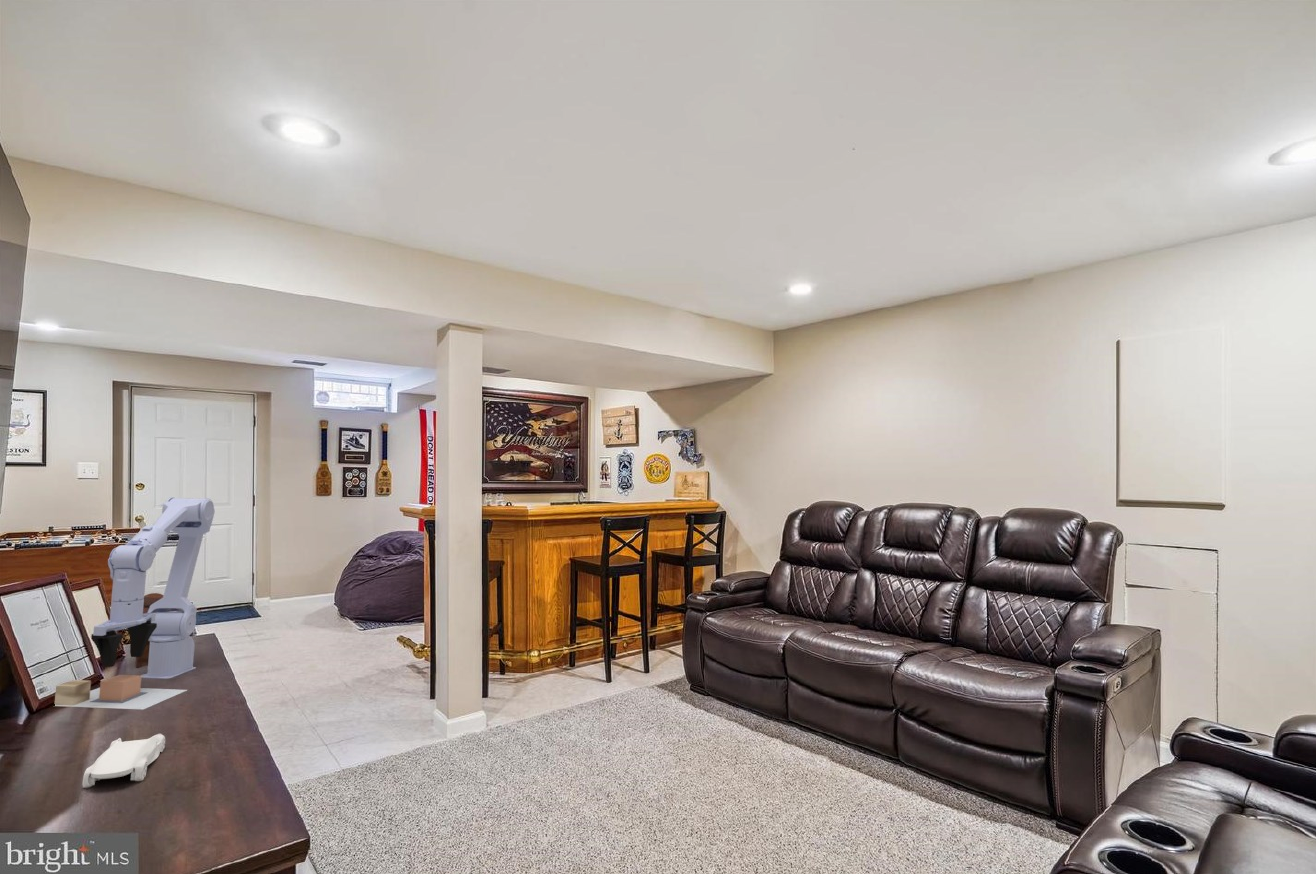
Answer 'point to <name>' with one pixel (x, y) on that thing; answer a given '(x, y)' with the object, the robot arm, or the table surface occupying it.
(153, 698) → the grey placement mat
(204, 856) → the table surface
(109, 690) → the terracotta block
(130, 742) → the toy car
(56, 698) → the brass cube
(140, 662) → the wooden figurine
